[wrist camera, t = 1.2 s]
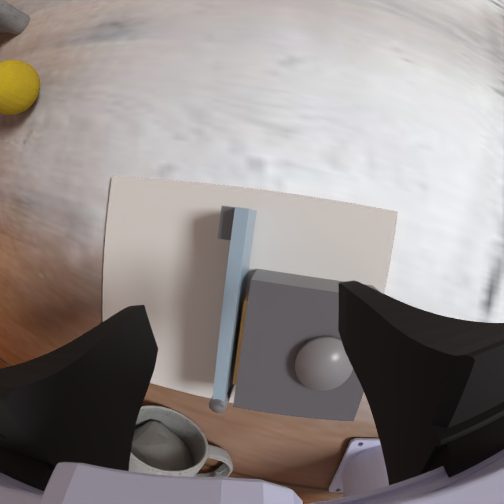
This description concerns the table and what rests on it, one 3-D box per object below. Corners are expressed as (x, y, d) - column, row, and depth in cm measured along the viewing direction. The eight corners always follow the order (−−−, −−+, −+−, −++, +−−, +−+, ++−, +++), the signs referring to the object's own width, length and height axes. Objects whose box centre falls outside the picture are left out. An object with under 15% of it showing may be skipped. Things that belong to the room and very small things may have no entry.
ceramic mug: (127, 443, 26) (95, 487, 18) (142, 391, 25) (102, 439, 17) (219, 483, 25) (204, 536, 18) (248, 439, 24) (236, 499, 17)
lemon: (49, 114, 23) (-7, 94, 15) (17, 126, 24) (-35, 112, 16) (58, 67, 23) (9, 41, 15) (25, 82, 23) (-22, 62, 15)
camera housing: (372, 285, 21) (392, 301, 16) (345, 392, 22) (354, 426, 18) (253, 268, 22) (244, 280, 17) (238, 378, 23) (226, 410, 18)
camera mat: (395, 212, 21) (397, 211, 20) (348, 414, 23) (348, 417, 22) (114, 176, 23) (112, 176, 23) (106, 366, 25) (104, 367, 25)
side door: (259, 211, 21) (252, 209, 17) (235, 386, 23) (225, 414, 19) (231, 207, 21) (217, 204, 17) (210, 381, 23) (197, 408, 19)
